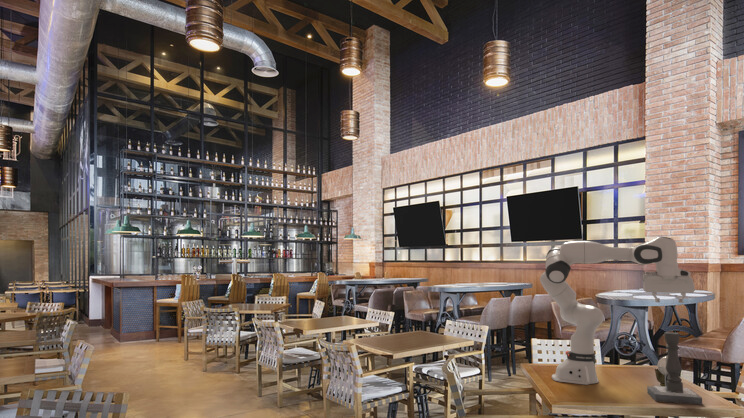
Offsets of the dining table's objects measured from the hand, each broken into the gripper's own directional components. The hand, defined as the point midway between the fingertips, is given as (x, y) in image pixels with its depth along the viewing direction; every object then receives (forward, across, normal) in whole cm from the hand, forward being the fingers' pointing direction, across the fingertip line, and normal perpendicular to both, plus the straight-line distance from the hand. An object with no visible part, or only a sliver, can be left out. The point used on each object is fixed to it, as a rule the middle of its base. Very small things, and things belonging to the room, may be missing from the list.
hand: (669, 302), depth 221 cm
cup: (+43, +2, +25) cm, 50 cm away
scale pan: (+40, 0, 0) cm, 40 cm away
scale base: (+43, 0, +2) cm, 43 cm away
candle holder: (+39, 0, 0) cm, 39 cm away
